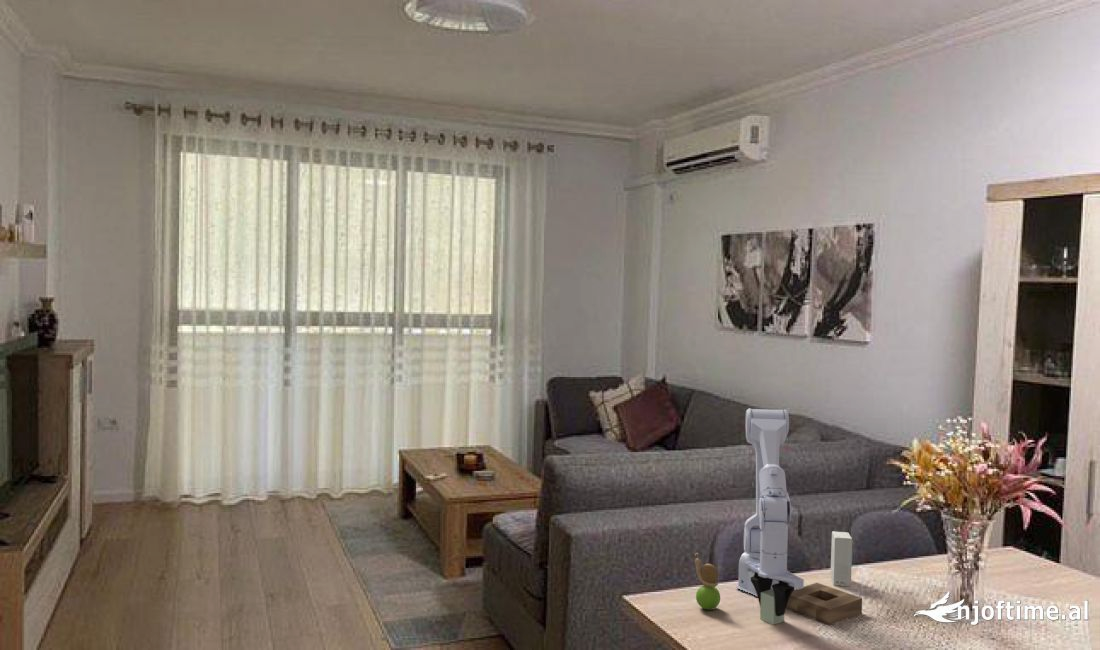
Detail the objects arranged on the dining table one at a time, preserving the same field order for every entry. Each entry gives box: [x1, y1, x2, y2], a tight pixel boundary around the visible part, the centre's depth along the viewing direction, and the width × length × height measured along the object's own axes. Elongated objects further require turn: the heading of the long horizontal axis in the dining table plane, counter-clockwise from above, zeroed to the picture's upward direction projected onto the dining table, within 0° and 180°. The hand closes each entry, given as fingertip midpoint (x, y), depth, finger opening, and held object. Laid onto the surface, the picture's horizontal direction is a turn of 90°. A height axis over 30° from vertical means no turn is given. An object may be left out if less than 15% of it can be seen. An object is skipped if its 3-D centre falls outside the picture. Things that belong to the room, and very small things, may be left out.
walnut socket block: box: [785, 582, 863, 626], centre depth 185 cm, size 12×12×4 cm
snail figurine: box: [694, 552, 721, 611], centre depth 186 cm, size 5×6×12 cm
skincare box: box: [830, 530, 853, 587], centre depth 204 cm, size 6×4×12 cm
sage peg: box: [759, 589, 785, 625], centre depth 179 cm, size 4×4×6 cm
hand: (772, 611), depth 179 cm, fingers closed on sage peg, 4 cm apart
